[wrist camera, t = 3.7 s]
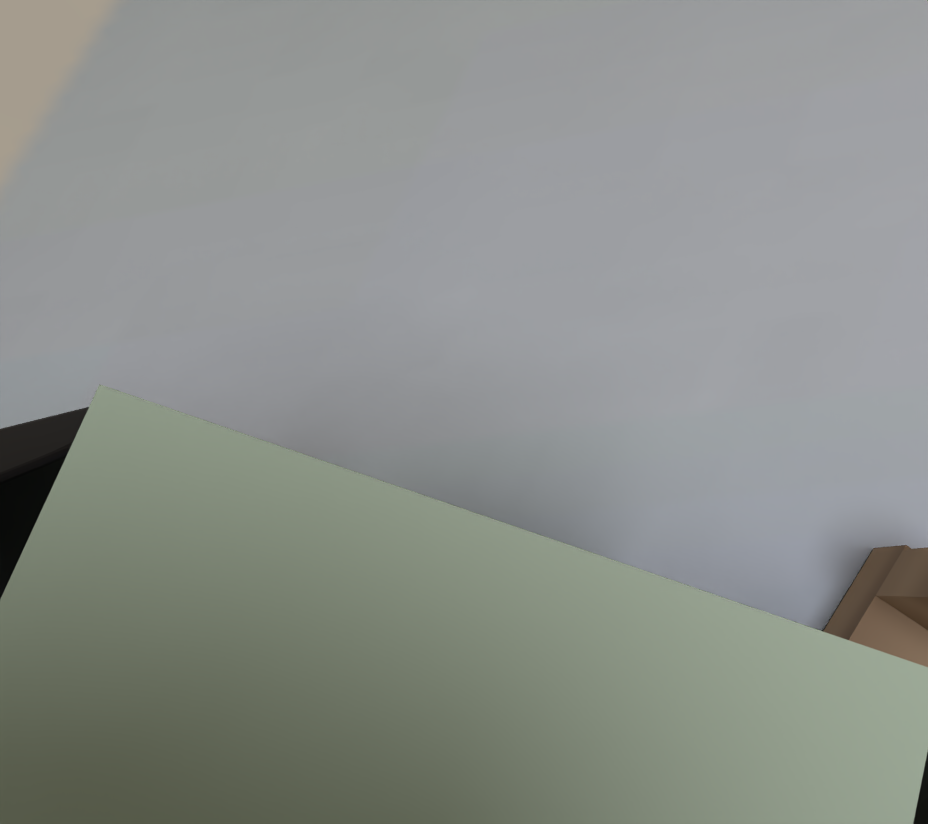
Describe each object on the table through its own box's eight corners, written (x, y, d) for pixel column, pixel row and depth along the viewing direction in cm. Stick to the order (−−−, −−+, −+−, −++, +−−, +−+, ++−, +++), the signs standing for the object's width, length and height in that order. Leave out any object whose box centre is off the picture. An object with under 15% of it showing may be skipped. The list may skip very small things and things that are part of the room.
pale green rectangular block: (579, 759, 14) (808, 1353, 3) (338, 667, 15) (-143, 902, 4) (623, 605, 14) (942, 673, 4) (390, 523, 15) (98, 384, 4)
